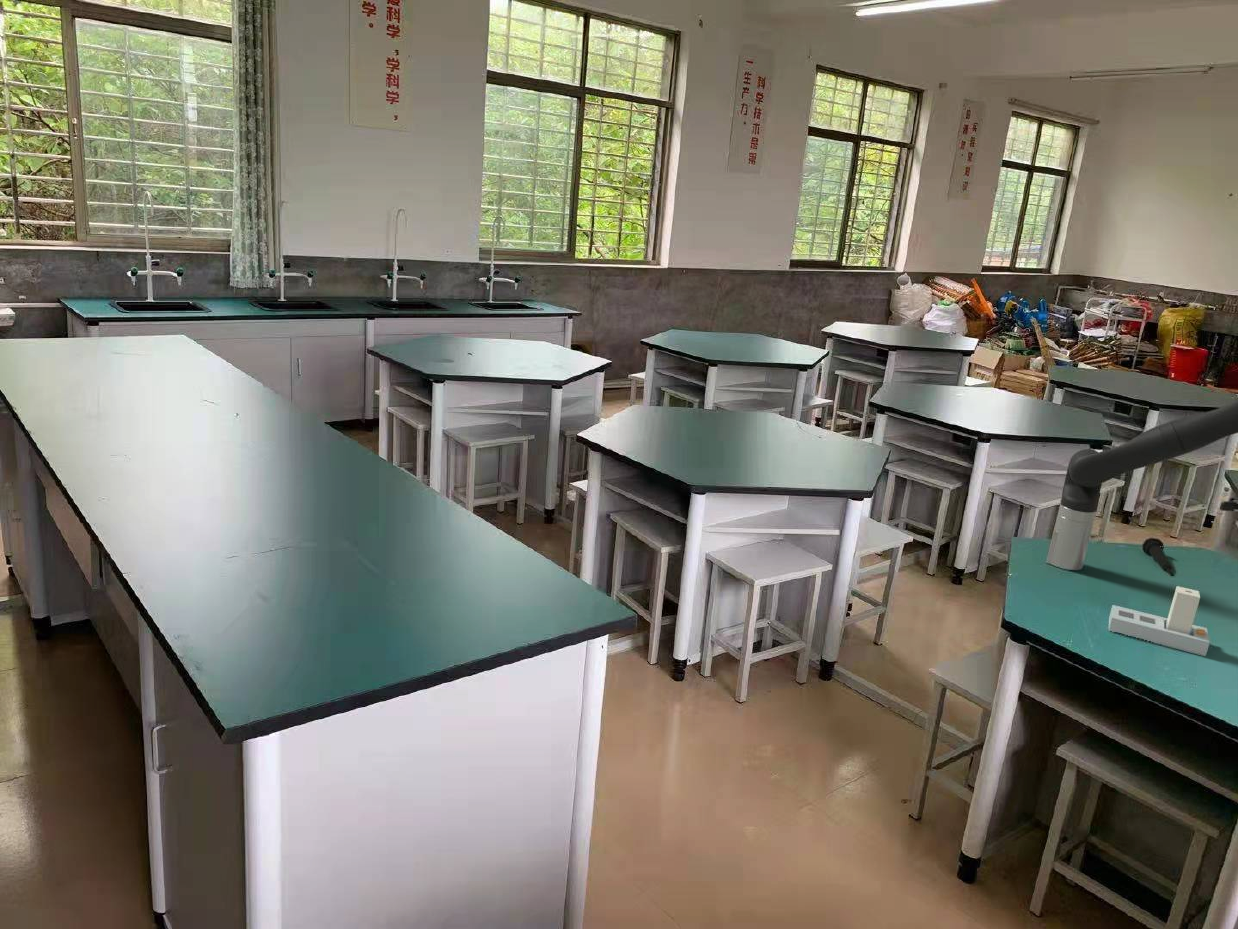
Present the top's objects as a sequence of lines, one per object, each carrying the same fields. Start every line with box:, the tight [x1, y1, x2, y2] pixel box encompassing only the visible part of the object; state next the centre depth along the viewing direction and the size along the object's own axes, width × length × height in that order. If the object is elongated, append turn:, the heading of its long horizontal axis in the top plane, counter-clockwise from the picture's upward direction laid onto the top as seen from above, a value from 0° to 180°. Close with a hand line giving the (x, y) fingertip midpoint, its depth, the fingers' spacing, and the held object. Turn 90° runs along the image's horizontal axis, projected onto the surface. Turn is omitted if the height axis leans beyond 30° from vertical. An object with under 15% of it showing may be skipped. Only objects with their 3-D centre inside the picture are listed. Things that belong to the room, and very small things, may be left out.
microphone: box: [1141, 537, 1174, 576], centre depth 266 cm, size 6×6×20 cm
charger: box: [1165, 585, 1201, 635], centre depth 213 cm, size 4×4×12 cm
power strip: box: [1108, 604, 1211, 657], centre depth 216 cm, size 20×9×4 cm, turn 61°
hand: (1236, 512), depth 216 cm, fingers open, 8 cm apart
